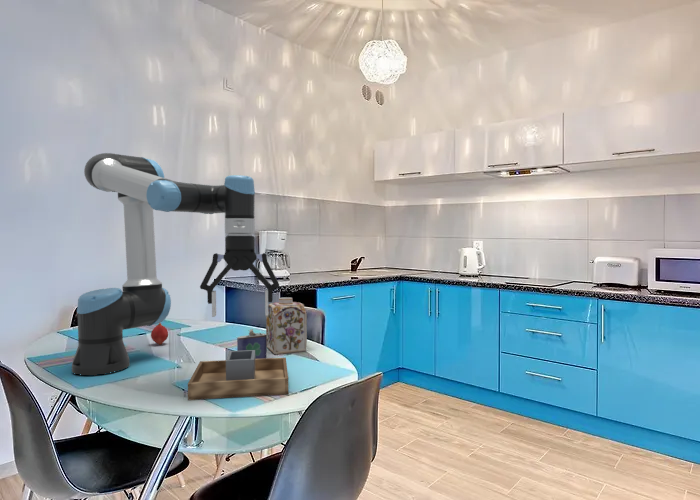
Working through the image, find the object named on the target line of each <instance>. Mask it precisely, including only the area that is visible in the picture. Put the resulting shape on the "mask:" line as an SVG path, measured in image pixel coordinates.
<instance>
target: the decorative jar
mask: <svg viewBox="0 0 700 500" xmlns="http://www.w3.org/2000/svg"><path fill="white" fill-rule="evenodd" d="M307 313H308V312H307V309H306V308H305V304H304V303H301V302H299V301H298V302H297V301H293V297H289V296H288V297H287V296H286V297H279V298H278V301H276V302H270V303H268V315H265V323H266V324H265V331H266V332H265V334H266V335H267V338H266V339H267V343H266V344H267V347H266V348H267V349H268V350H269V351H270V352H271V353H272V354H273V355H286V354H294V353H295V354H296V353H304V352H306V351H307V347H308V346H307V345H308V337H307V336H308V333H307V332H308V331H307V329H308V326H307V325H308V324H307V322H308V320H307V319H308V318H307V317H308V315H307Z"/></svg>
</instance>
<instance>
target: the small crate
mask: <svg viewBox="0 0 700 500" xmlns="http://www.w3.org/2000/svg"><path fill="white" fill-rule="evenodd" d="M225 360H226V381H229V380H248V379H255V350H244V351H237V350H229V351H228V353H227V356H226V359H225Z"/></svg>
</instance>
